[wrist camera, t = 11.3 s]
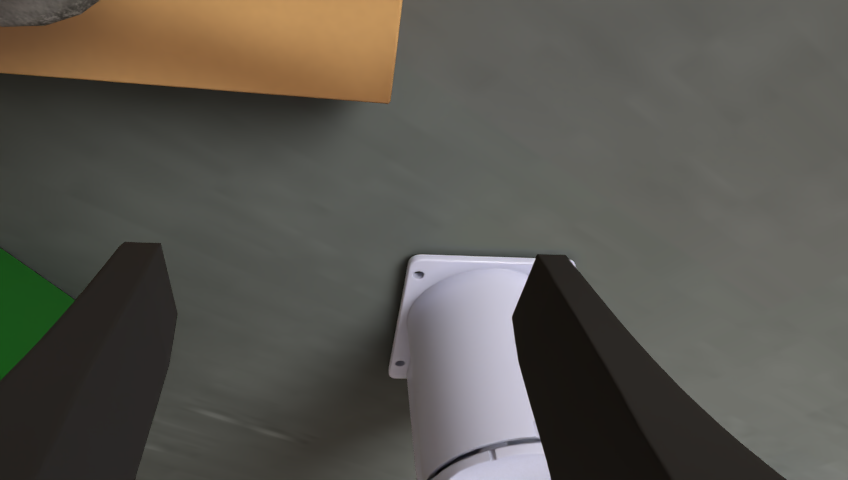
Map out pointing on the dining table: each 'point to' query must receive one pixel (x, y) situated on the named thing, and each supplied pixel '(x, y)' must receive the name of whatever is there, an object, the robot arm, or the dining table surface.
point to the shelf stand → (220, 46)
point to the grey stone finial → (40, 11)
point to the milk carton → (25, 310)
